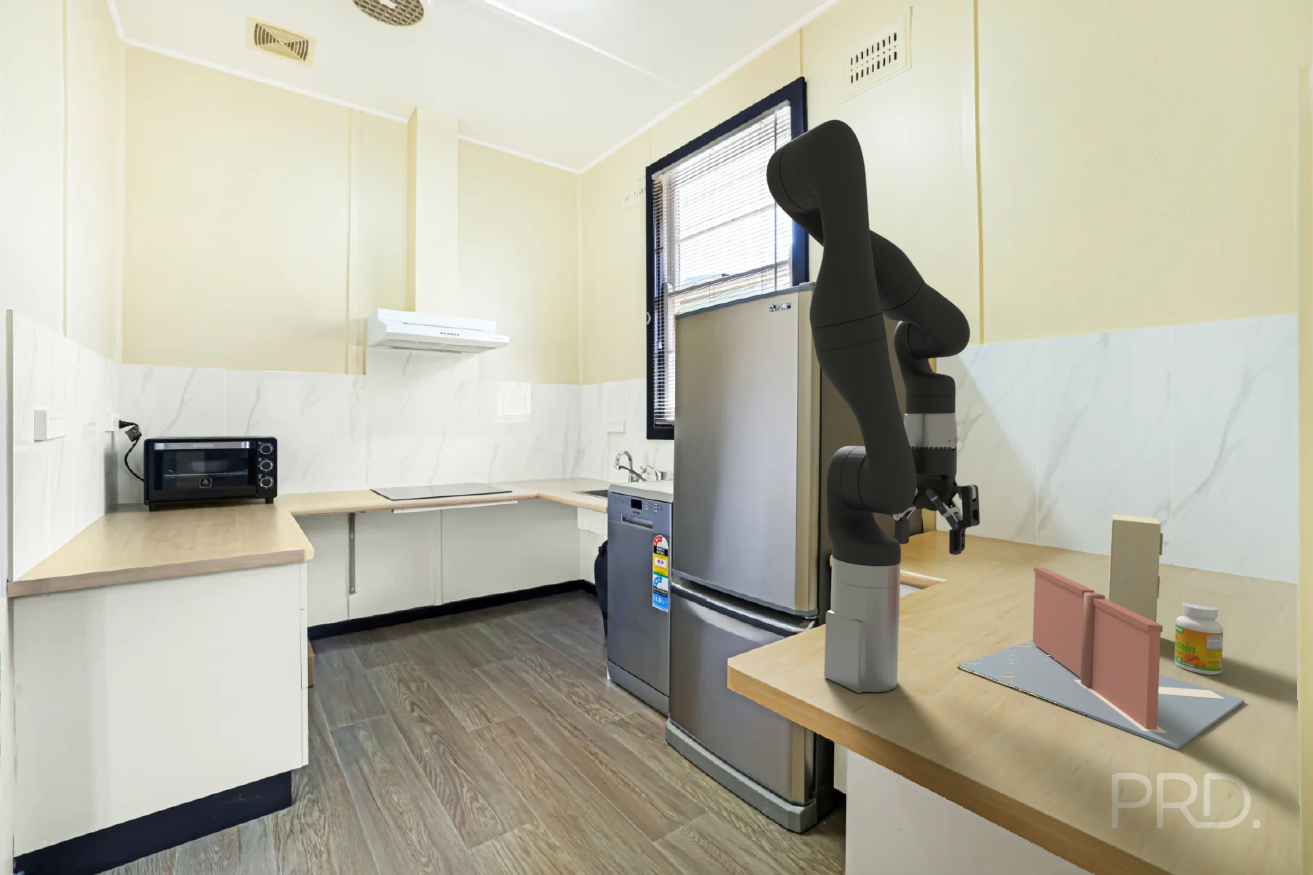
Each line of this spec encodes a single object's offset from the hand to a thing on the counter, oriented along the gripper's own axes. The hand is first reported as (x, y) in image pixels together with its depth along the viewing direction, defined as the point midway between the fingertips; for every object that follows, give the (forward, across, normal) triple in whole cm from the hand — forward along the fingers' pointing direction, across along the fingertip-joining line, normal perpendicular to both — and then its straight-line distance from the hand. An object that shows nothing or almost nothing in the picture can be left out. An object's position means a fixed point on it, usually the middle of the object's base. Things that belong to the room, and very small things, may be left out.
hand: (928, 548), depth 91 cm
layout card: (+18, +18, +12) cm, 28 cm away
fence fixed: (+18, +22, +7) cm, 29 cm away
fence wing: (+17, +12, +16) cm, 27 cm away
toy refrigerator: (+19, +13, +42) cm, 48 cm away
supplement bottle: (+19, +24, +33) cm, 45 cm away
